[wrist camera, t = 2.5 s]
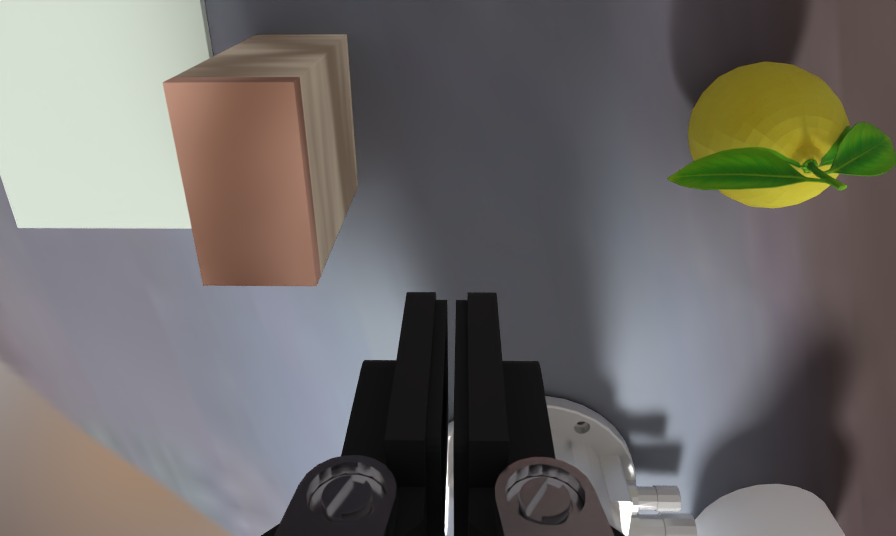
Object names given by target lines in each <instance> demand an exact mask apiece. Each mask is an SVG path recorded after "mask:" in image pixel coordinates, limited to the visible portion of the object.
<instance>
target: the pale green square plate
mask: <svg viewBox="0 0 896 536" xmlns="http://www.w3.org/2000/svg"><path fill="white" fill-rule="evenodd" d="M211 57H213V51H212V45H211V39H210V33H209V27H208V21H207V14H206V8H205V2H204V0H0V175H1V178H2V181H3V184H4V187H5V190H6V193H7V196H8V199H9V203H10V206H11V209H12V212H13V215H14V218H15V221H16V224H17V227H18V228H192V227H191V222H190V217H189V212H188V207H187V202H186V198H185V193H184V188H183V183H182V178H181V173H180V168H179V163H178V158H177V153H176V148H175V143H174V138H173V133H172V128H171V123H170V118H169V113H168V108H167V103H166V98H165V93H164V88H163V83H162V82H164V81H166V80H168V79H170V78H172V77H174V76H176V75H178V74H180V73H182V72H184V71H186V70H188V69H190V68H192V67H194V66H196V65H198V64H200V63H201V62H203V61H205V60H207V59H209V58H211Z"/></svg>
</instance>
